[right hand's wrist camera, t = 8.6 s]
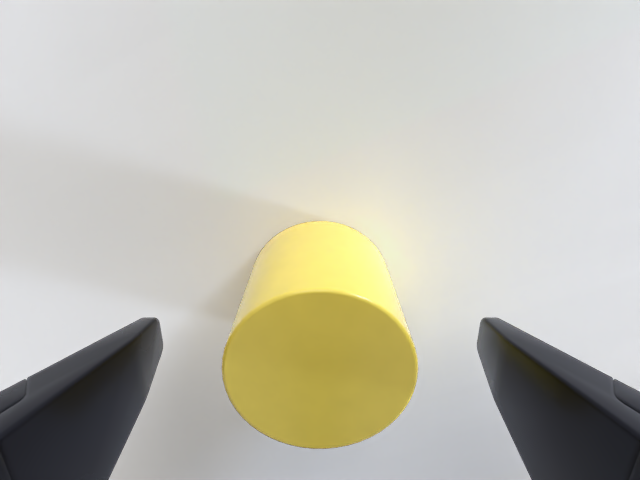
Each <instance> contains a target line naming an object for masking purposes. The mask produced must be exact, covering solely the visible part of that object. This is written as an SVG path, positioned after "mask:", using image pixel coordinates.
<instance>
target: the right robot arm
mask: <svg viewBox="0 0 640 480" xmlns="http://www.w3.org/2000/svg"><path fill="white" fill-rule="evenodd" d="M162 350H163V340H162V334H161V328H160V323H159V320H158V319H157V318H141V319H139V320H137V321H135V322H133V323H131V324H129V325H128V326H126V327H124V328H122V329H120V330H118V331H116V332H114V333H112V334H110V335H108V336H106V337H105V338H103V339H101V340H99V341H97V342H95V343H93V344H91V345H89V346H87V347H85V348H83V349H82V350H80V351H78V352H76V353H74V354H72V355H70V356H68V357H66V358H64V359H62V360H61V361H59V362H57V363H55V364H53V365H51V366H49V367H47V368H45V369H43V370H41V371H39V372H38V373H36V374H34V375H32V376H30V377H28V378H27V380H26V379H24V380H22V381H20V382H18V383H16V384H14V385H13V386H11V387H9V388H7V389H5V390H3V391H1V392H0V480H108V479H109V477H110V475H111V473H112V471H113V469H114V467H115V464H116V462H117V460H118V458H119V456H120V454H121V452H122V450H123V447H124V445H125V443H126V441H127V439H128V437H129V435H130V432H131V430H132V428H133V426H134V424H135V422H136V420H137V418H138V415H139V413H140V411H141V409H142V407H143V405H144V402H145V400H146V398H147V395H148V392H149V389H150V386H151V383H152V380H153V377H154V374H155V371H156V368H157V365H158V362H159V359H160V356H161V353H162ZM477 350H478V353H479V356H480V359H481V362H482V365H483V368H484V371H485V374H486V377H487V380H488V383H489V386H490V389H491V392H492V395H493V398H494V400H495V402H496V405H497V407H498V409H499V411H500V413H501V415H502V418H503V420H504V422H505V424H506V426H507V428H508V430H509V432H510V435H511V437H512V439H513V441H514V443H515V445H516V447H517V450H518V452H519V454H520V456H521V458H522V460H523V462H524V464H525V467H526V469H527V471H528V473H529V475H530V477H531V479H532V480H640V392H639V391H637V390H635V389H633V388H631V387H629V386H627V385H626V384H624V383H622V382H620V381H618V380H616V379H614V380H613V378H612V377H610V376H608V375H606V374H604V373H602V372H601V371H599V370H597V369H595V368H593V367H591V366H589V365H587V364H585V363H583V362H581V361H579V360H578V359H576V358H574V357H572V356H570V355H568V354H566V353H564V352H562V351H560V350H558V349H557V348H555V347H553V346H551V345H549V344H547V343H545V342H543V341H541V340H539V339H537V338H535V337H534V336H532V335H530V334H528V333H526V332H524V331H522V330H520V329H518V328H516V327H514V326H512V325H511V324H509V323H507V322H505V321H503V320H501V319H499V318H483V319H482V320H481V323H480V328H479V334H478V340H477Z"/></svg>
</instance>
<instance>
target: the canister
mask: <svg viewBox="0 0 640 480" xmlns="http://www.w3.org/2000/svg"><path fill="white" fill-rule="evenodd" d="M417 375H418V358H417V354H416V349H415V346H414V343H413V340H412V337H411V335H410V332H409V329H408V326H407V323H406V320H405V318H404V315H403V312H402V309H401V306H400V303H399V301H398V298H397V295H396V292H395V289H394V286H393V284H392V281H391V278H390V275H389V272H388V270H387V267H386V264H385V261H384V259H383V257H382V255H381V253H380V252H379V250H378V249H377V248H376V246H375V245H374V244H373V243H372V242H371V241H370V240H369V239H368V238H367V237H365V236H364V235H363V234H361V233H360V232H358V231H356V230H355V229H353V228H350V227H348V226H345V225H342V224H339V223H335V222H327V221H313V222H305V223H301V224H297V225H295V226H292V227H289V228H287V229H285V230H284V231H282V232H280V233H279V234H277V235H276V236H274V237H273V238H272V239H271V240H270V241H269V242H268V243H267V244H266V245H265V246H264V248H263V249H262V250H261V252H260V253H259V255H258V257H257V259H256V261H255V264H254V266H253V269H252V272H251V275H250V278H249V280H248V283H247V286H246V289H245V292H244V294H243V297H242V300H241V303H240V306H239V309H238V311H237V314H236V317H235V320H234V323H233V325H232V328H231V331H230V334H229V337H228V339H227V342H226V345H225V348H224V353H223V357H222V377H223V382H224V386H225V390H226V392H227V395H228V397H229V399H230V401H231V403H232V404H233V406H234V408H235V409H236V411H237V412H238V413H239V414H240V415H241V417H242V418H243V419H244V420H245V421H246V422H248V423H249V424H250V425H251V426H252V427H254V428H255V429H256V430H258V431H259V432H261V433H263V434H264V435H266V436H268V437H270V438H272V439H274V440H277V441H279V442H282V443H285V444H289V445H293V446H297V447H303V448H313V449H327V448H337V447H342V446H347V445H351V444H354V443H358V442H361V441H363V440H365V439H368V438H370V437H372V436H374V435H375V434H377V433H379V432H381V431H382V430H383V429H385V428H386V427H388V426H389V425H390V424H391V423H392V422H393V421H394V420H396V419H397V418H398V416H399V415H400V414H401V413H402V412H403V410H404V409H405V407H406V406H407V404H408V403H409V401H410V399H411V396H412V394H413V392H414V389H415V385H416V381H417Z"/></svg>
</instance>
